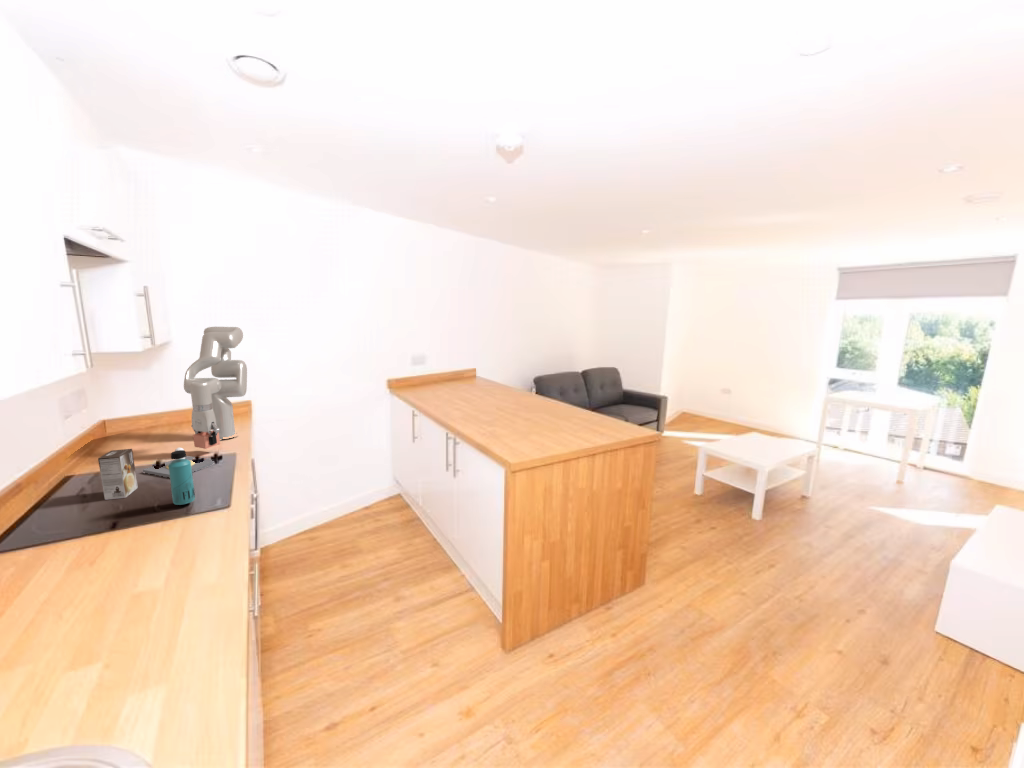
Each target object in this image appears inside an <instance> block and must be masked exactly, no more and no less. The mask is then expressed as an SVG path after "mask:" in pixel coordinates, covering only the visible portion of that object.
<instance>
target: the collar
mask: <svg viewBox="0 0 1024 768" xmlns="http://www.w3.org/2000/svg"><path fill="white" fill-rule="evenodd" d="M211 433H213V431H212V432H211ZM209 437H210V436H209V434H208V432H201V433H198V434H195V433H193V434H192V438H193V444H194V445H193V447H195V448H199V449H204V450H205V449H206V450H207V449H210V448H213V447H216V446H217V445H220V444H221V440H220V439H219V432H218V433H217V435H216V439H217V443H216V444H213V445H210V443H209Z"/></svg>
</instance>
